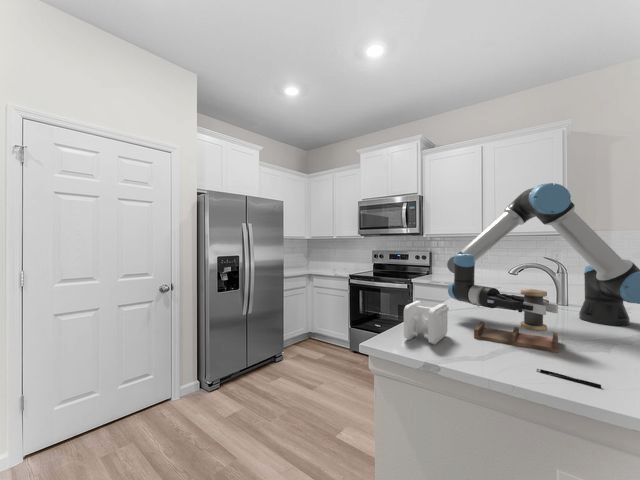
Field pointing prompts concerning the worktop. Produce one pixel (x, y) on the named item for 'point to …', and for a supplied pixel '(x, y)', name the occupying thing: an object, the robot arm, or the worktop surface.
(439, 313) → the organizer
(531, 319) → the cord spool
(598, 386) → the black pen
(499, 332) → the slot cradle
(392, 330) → the worktop surface
